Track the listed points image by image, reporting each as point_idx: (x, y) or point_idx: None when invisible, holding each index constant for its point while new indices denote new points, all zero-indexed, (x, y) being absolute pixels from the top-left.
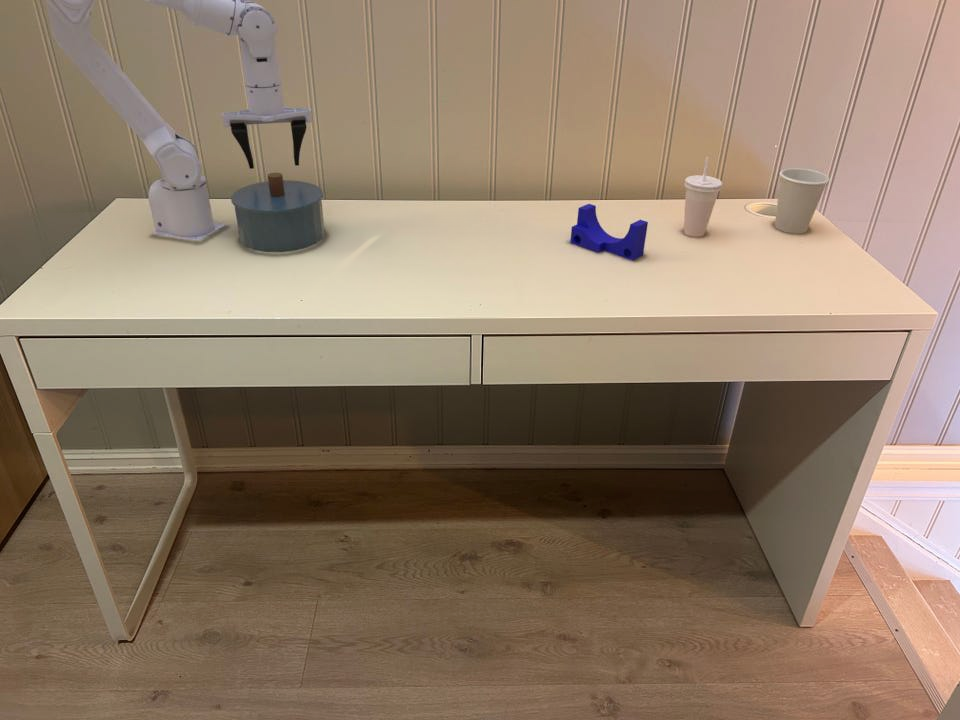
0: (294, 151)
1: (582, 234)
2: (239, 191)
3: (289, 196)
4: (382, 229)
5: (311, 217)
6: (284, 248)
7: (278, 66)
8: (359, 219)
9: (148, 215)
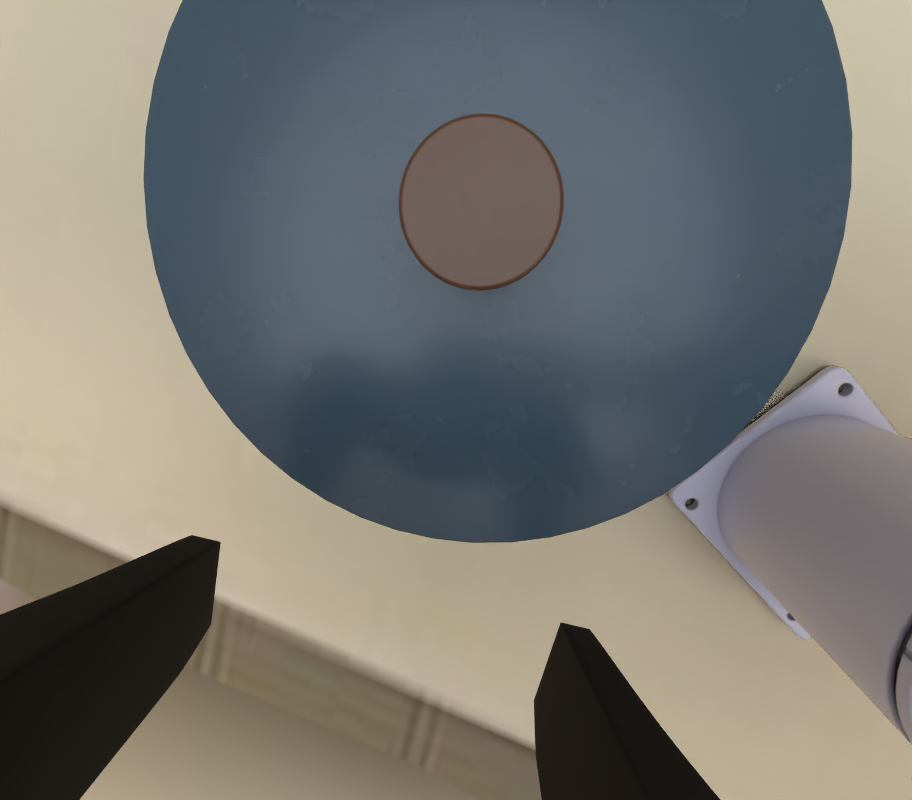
0: (110, 605)
1: None
2: (710, 425)
3: (408, 143)
4: (39, 162)
5: None
6: None
7: None
8: (118, 329)
9: (884, 732)
